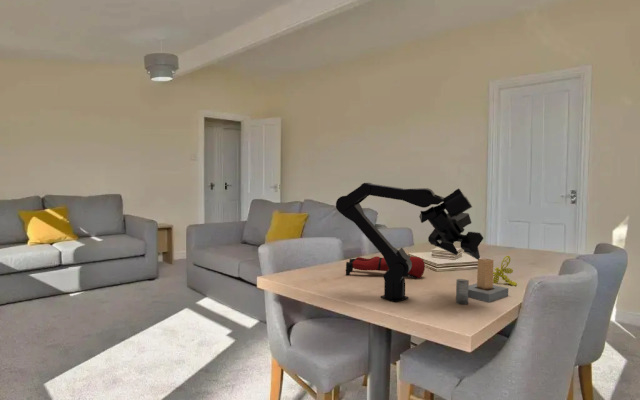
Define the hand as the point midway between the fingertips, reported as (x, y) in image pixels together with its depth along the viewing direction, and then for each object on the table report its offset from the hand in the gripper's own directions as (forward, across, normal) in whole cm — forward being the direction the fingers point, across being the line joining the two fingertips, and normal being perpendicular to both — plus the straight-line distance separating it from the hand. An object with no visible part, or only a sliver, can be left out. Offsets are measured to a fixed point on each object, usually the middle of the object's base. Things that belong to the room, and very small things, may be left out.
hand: (467, 256), depth 138 cm
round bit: (+6, -3, +13) cm, 15 cm away
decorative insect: (+28, +10, -9) cm, 30 cm away
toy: (+6, +38, +13) cm, 40 cm away
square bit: (+15, 0, +4) cm, 16 cm away
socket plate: (+15, 0, +4) cm, 15 cm away
